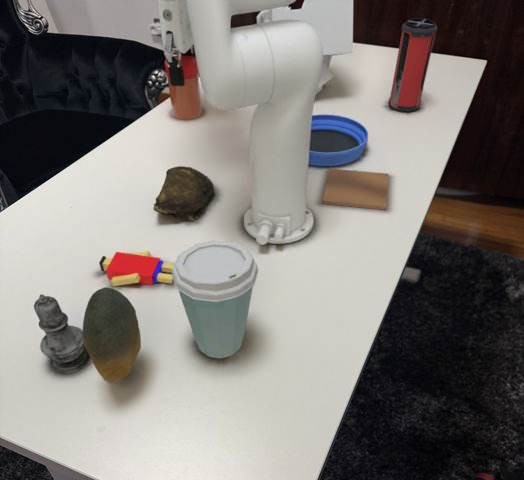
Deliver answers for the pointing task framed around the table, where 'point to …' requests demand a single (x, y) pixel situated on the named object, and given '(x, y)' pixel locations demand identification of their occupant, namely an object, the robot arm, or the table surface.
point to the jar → (186, 99)
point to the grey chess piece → (60, 337)
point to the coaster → (356, 189)
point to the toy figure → (136, 269)
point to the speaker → (412, 64)
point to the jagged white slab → (321, 27)
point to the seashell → (184, 193)
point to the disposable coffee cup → (216, 293)
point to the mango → (111, 334)
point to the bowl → (335, 140)
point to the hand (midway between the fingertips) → (183, 77)
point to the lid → (186, 66)
